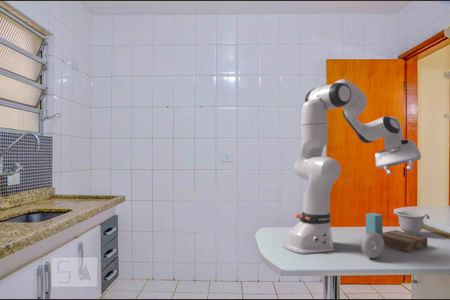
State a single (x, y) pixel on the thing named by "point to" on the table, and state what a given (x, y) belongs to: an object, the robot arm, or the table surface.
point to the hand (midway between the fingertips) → (399, 172)
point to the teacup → (411, 221)
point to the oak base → (403, 241)
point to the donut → (377, 248)
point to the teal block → (374, 223)
